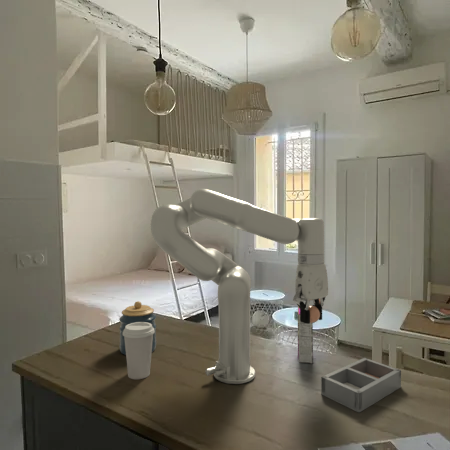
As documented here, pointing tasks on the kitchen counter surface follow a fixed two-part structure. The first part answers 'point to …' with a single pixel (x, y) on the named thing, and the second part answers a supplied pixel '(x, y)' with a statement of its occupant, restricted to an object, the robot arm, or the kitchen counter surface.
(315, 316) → the ball
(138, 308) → the canister
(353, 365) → the divided tray
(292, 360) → the kitchen counter surface
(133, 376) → the coffee cup
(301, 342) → the candy bar box
